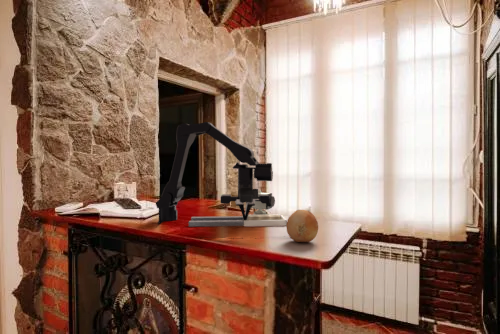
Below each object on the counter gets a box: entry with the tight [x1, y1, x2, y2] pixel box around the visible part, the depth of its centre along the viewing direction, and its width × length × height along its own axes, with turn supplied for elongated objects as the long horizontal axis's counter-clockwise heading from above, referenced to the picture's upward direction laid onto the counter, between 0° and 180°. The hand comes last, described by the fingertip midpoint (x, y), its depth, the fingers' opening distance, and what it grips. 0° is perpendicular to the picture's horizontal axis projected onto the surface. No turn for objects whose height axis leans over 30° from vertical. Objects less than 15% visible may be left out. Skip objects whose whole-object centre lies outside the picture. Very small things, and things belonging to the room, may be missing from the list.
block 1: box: [248, 214, 259, 220], centre depth 119 cm, size 4×4×3 cm
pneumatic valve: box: [251, 190, 276, 215], centre depth 131 cm, size 6×12×12 cm, turn 63°
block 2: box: [259, 215, 270, 220], centre depth 119 cm, size 4×4×3 cm
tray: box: [241, 213, 288, 227], centre depth 119 cm, size 16×12×3 cm
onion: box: [285, 209, 319, 243], centre depth 95 cm, size 10×10×10 cm
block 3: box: [269, 215, 280, 220], centre depth 119 cm, size 4×4×3 cm
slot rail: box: [188, 215, 245, 228], centre depth 117 cm, size 20×10×3 cm, turn 94°
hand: (245, 221), depth 118 cm, fingers closed
